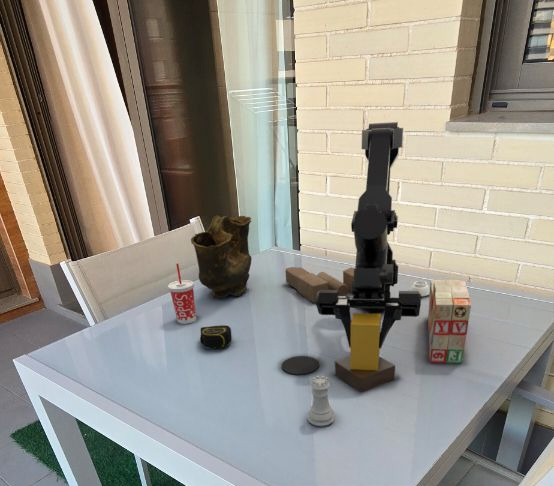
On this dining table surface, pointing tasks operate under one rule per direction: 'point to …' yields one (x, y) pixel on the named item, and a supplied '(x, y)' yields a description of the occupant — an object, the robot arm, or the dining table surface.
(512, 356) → the dining table surface
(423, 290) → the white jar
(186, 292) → the beverage cup
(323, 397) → the rook chess piece
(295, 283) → the wooden block set
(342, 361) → the walnut block
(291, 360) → the rubber mat
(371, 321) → the ochre block
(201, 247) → the pottery vessel
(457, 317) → the stack of blocks
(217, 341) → the tape measure
